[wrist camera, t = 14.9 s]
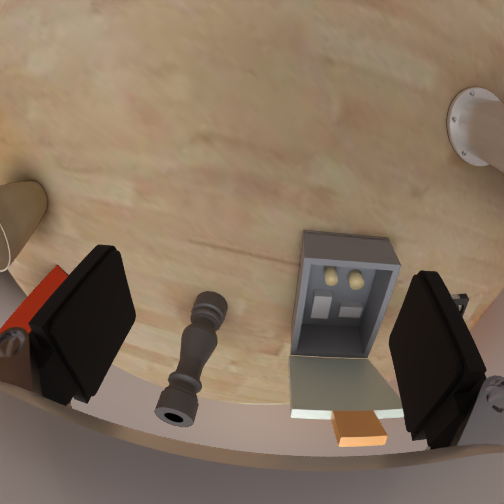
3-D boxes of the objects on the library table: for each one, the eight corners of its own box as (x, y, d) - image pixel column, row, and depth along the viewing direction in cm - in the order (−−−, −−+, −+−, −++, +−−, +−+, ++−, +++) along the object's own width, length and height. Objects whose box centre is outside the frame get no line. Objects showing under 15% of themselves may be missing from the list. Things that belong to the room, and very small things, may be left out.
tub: (387, 237, 47) (401, 265, 40) (361, 327, 57) (367, 358, 50) (303, 230, 48) (304, 257, 41) (291, 323, 59) (290, 354, 52)
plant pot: (8, 201, 53) (-39, 236, 39) (24, 150, 46) (-34, 179, 32) (50, 243, 57) (5, 286, 43) (71, 194, 50) (15, 236, 36)
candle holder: (214, 286, 56) (173, 403, 35) (233, 309, 59) (204, 425, 37) (189, 298, 59) (144, 408, 37) (209, 319, 61) (174, 429, 40)
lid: (426, 431, 24) (422, 442, 24) (368, 359, 51) (366, 366, 51) (293, 436, 26) (291, 448, 26) (289, 355, 52) (288, 363, 52)
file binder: (98, 327, 68) (38, 432, 41) (48, 281, 63) (-28, 375, 36) (112, 315, 65) (46, 429, 38) (57, 264, 59) (-29, 366, 32)
